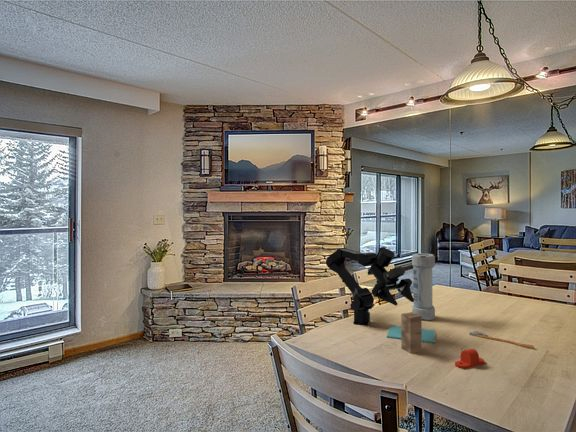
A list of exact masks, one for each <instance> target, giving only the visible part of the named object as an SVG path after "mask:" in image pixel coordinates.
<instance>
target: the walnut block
mask: <svg viewBox="0 0 576 432" xmlns="http://www.w3.org/2000/svg"><path fill="white" fill-rule="evenodd" d="M400 317H401V318H400V326H401V339H400V341H401V344H400V345H401V347H400V348H401V349H402V350H404V351H405V352H407V353H409V354H413V353H419V352H422V351H423V349H422V348H423V347H422V345H423V344H422V343H423V342H422V329H423V328H422V327H423V326H422V322H423V320H422V316H421V315H418V314H416V313H413V312H404V313H401V314H400Z"/></svg>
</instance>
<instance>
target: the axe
mask: <svg viewBox="0 0 576 432" xmlns="http://www.w3.org/2000/svg"><path fill="white" fill-rule="evenodd" d="M468 334H469V336H471V337H477V338H481V339H486V340H490V341H491V340H492V341H497V342H502V343H507V344H512V345H514V346H515V345H516V346H517V347H521V348H525V349H528V350H535V346H534V345H533V344H525V343H521V342H515V341H513V340H512V341H511V340H509V339H502V338H497V337H493V336H489V335H488V334H487V333H485V332H481V331H477V330H472V331H470V332H469V333H468Z"/></svg>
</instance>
